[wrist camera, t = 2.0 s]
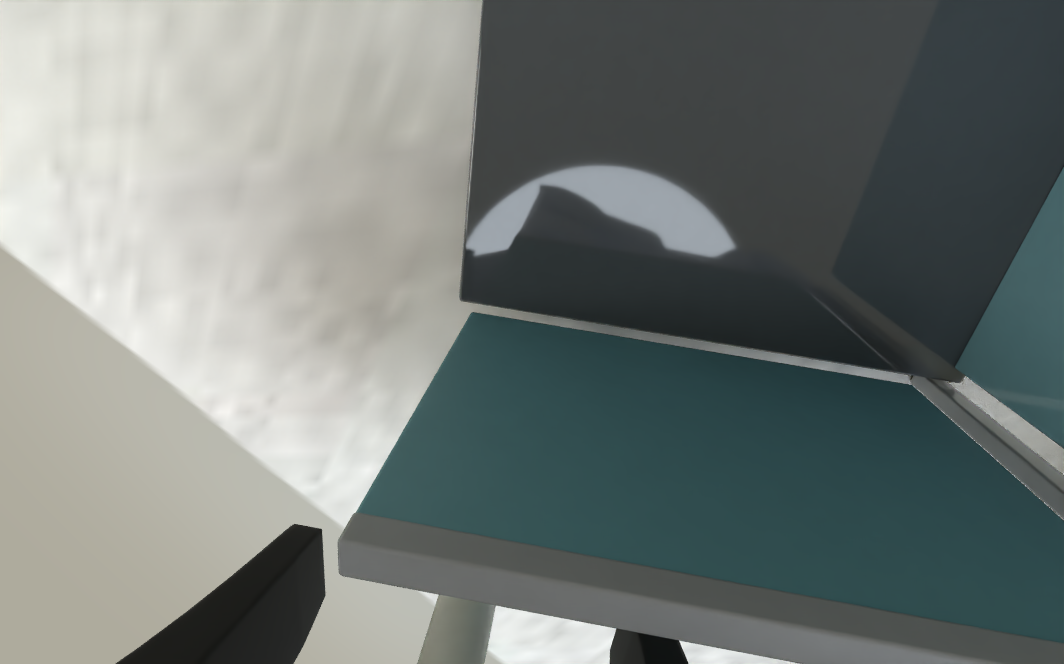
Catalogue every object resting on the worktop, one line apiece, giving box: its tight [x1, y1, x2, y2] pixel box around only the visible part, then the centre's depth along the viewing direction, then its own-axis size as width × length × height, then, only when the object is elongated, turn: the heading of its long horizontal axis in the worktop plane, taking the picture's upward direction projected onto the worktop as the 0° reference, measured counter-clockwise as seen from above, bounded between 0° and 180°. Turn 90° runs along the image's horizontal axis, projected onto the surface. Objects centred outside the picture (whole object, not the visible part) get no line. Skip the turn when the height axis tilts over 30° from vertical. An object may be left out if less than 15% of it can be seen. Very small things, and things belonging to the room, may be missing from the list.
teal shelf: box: [338, 312, 1064, 664], centre depth 10 cm, size 5×10×7 cm, turn 82°
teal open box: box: [459, 0, 1064, 519], centre depth 7 cm, size 12×12×8 cm
